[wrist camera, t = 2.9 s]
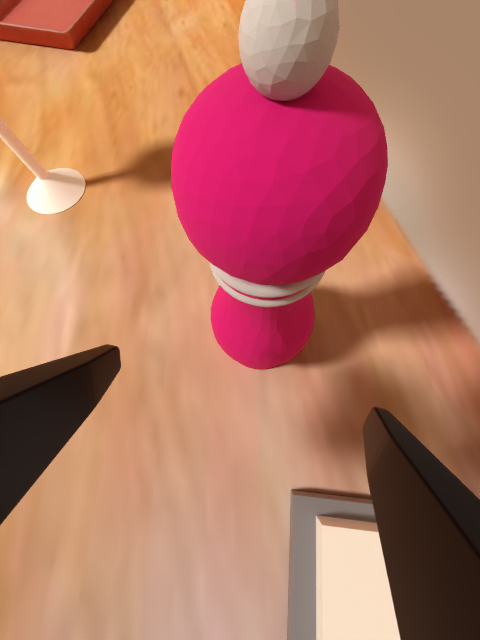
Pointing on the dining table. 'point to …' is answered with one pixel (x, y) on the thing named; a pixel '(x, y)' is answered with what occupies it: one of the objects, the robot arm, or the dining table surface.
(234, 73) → the pepper mill
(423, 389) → the dining table surface
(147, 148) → the dining table surface
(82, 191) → the champagne flute
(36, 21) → the plant saucer
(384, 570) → the grey square coaster
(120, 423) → the dining table surface
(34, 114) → the dining table surface
